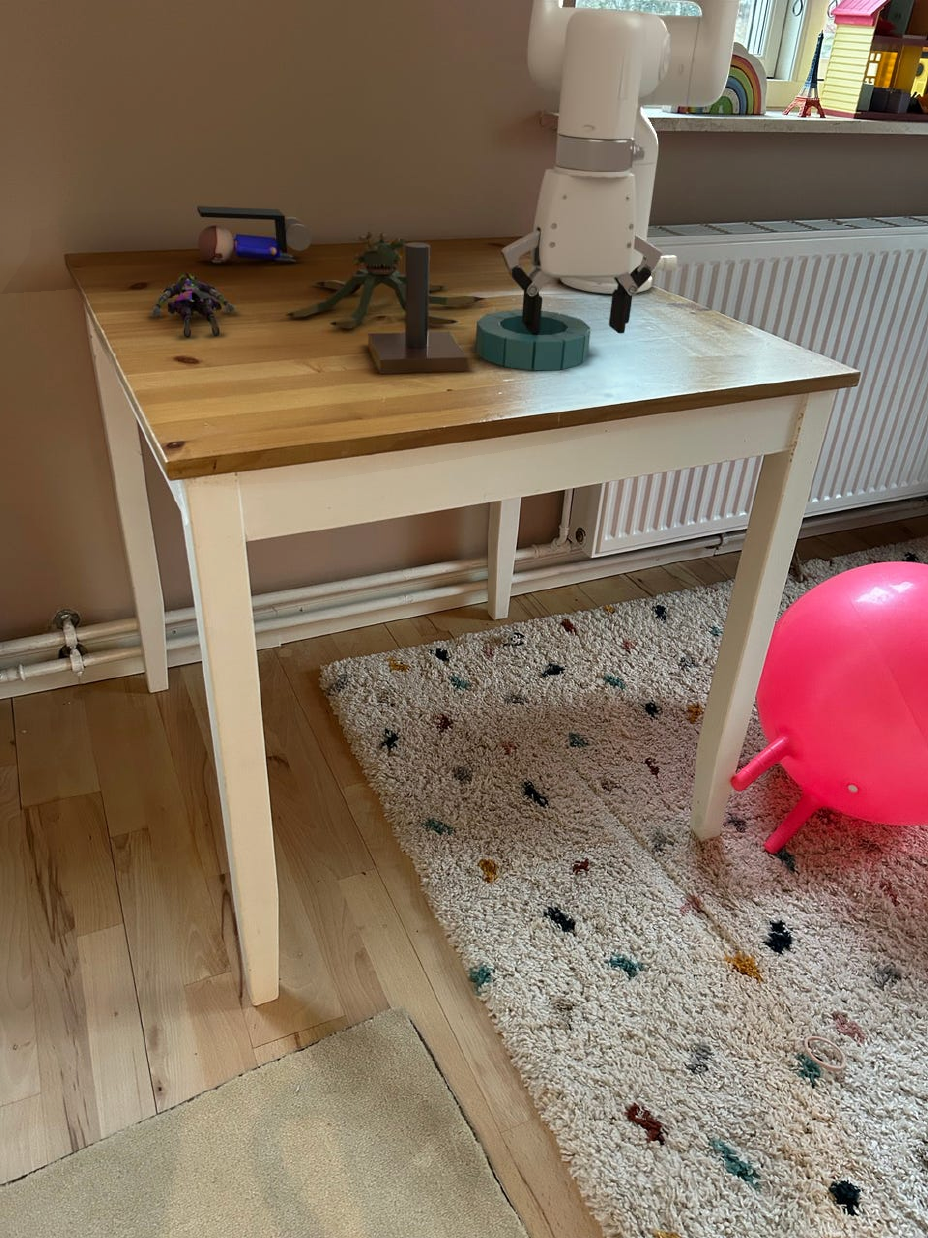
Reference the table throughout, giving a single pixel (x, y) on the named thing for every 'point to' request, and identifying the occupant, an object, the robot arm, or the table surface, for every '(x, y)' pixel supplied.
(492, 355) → the ring
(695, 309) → the table surface
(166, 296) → the character figure
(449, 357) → the stand
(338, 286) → the octopus toy
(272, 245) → the figurine character
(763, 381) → the table surface
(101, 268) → the table surface
